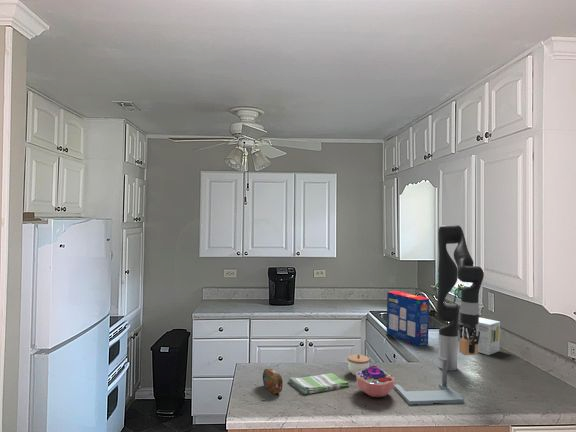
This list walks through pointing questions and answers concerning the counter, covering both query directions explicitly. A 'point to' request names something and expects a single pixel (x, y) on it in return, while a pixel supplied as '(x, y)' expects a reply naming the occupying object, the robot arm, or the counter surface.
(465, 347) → the tan wooden brick
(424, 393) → the screw clamp
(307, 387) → the dish towel
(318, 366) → the counter surface
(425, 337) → the blue cardboard box
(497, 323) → the supplement box
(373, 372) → the cell model
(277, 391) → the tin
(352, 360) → the lidded jar
